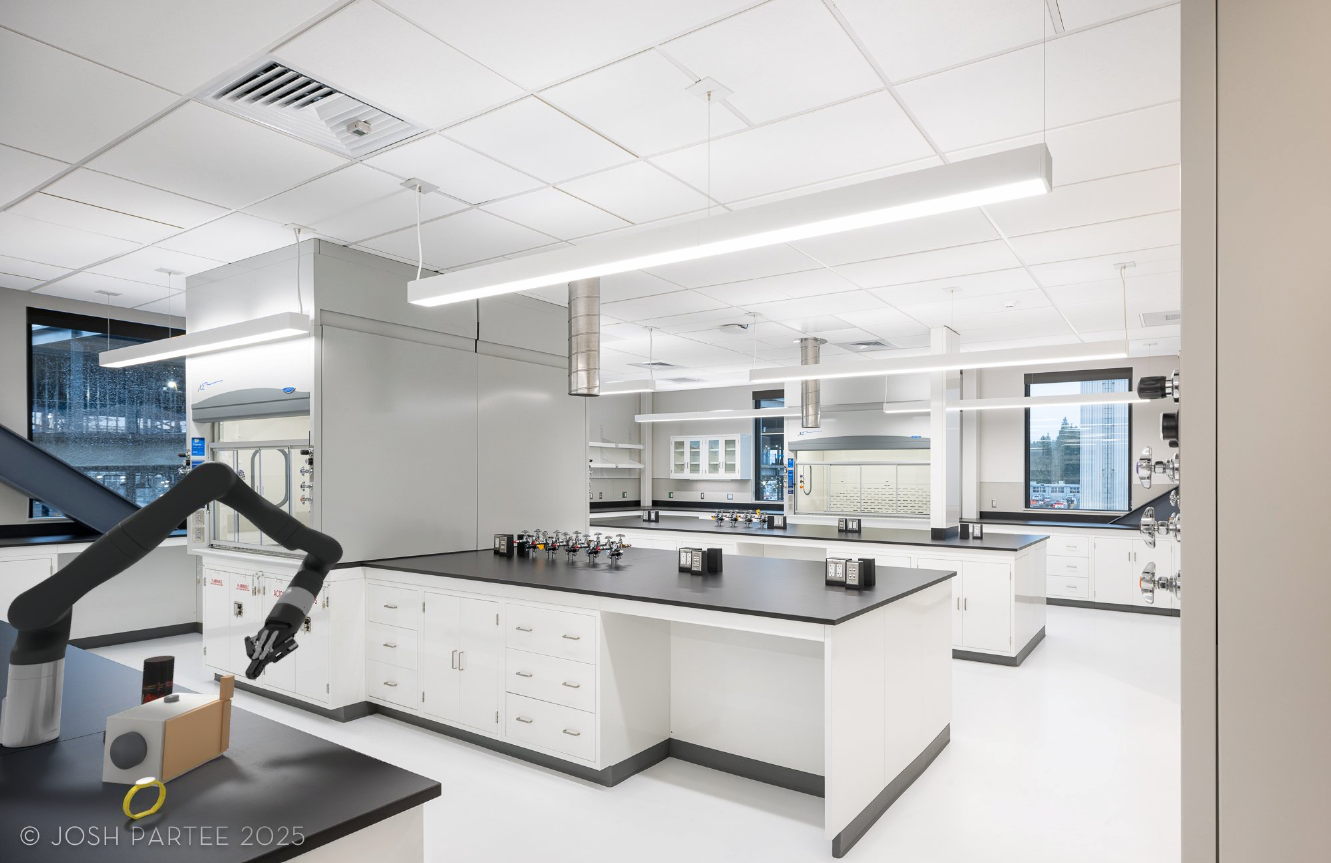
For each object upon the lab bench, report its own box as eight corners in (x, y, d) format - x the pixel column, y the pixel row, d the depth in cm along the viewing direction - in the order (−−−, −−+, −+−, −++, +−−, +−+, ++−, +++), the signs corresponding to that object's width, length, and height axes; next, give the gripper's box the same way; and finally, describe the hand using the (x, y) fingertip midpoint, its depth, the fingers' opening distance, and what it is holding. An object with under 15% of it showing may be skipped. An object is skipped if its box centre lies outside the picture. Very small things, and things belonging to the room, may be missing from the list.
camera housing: (94, 785, 132) (99, 715, 133) (172, 749, 149) (176, 688, 150) (150, 790, 130) (155, 719, 131) (223, 754, 147) (227, 691, 148)
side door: (162, 780, 132) (167, 696, 133) (223, 750, 147) (227, 674, 148) (169, 780, 132) (175, 696, 133) (230, 750, 147) (234, 675, 148)
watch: (129, 825, 118) (128, 790, 118) (120, 821, 119) (120, 786, 119) (168, 808, 123) (167, 774, 123) (160, 805, 124) (159, 771, 124)
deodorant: (133, 725, 163) (137, 660, 164) (160, 718, 168) (164, 654, 169) (149, 729, 161) (154, 663, 162) (176, 721, 166) (180, 657, 167)
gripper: (258, 600, 165) (214, 666, 152) (309, 602, 163) (269, 670, 150) (272, 618, 170) (231, 684, 157) (322, 621, 168) (285, 688, 155)
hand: (250, 677), depth 153 cm, fingers closed
